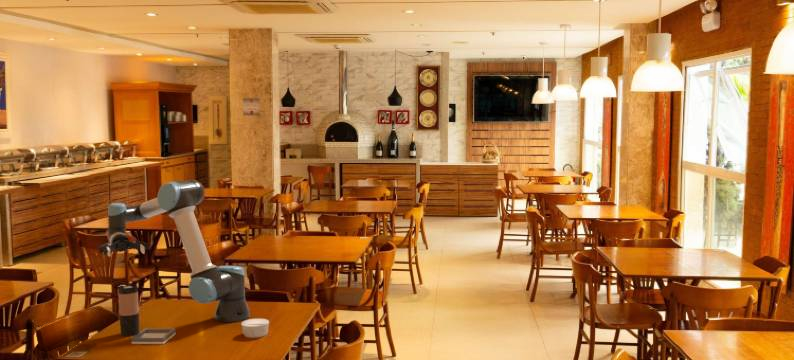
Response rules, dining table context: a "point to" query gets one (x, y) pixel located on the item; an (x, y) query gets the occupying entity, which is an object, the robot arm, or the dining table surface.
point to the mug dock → (153, 336)
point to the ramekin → (255, 327)
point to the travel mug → (128, 310)
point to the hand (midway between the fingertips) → (126, 252)
